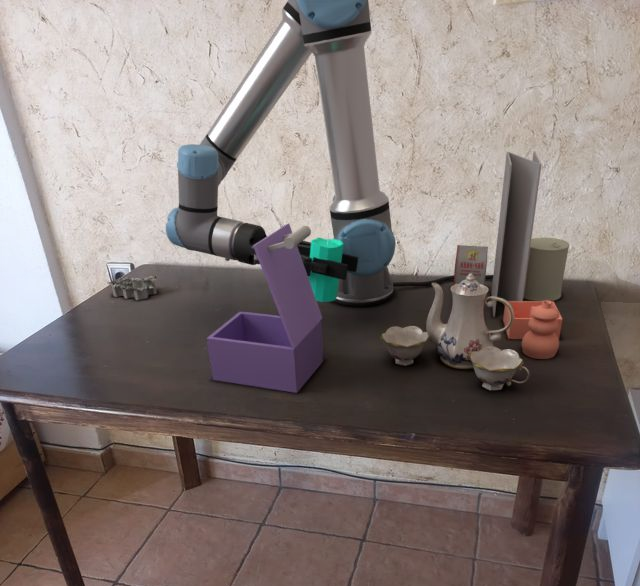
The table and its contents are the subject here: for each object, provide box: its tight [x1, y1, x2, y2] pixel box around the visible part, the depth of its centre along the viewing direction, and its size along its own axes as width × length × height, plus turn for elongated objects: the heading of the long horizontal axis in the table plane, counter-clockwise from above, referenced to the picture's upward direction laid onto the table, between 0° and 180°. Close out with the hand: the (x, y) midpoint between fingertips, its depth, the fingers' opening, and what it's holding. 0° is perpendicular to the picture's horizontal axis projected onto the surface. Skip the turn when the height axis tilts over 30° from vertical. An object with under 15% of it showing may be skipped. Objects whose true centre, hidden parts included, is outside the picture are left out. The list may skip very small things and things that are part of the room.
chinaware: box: [379, 273, 530, 391], centre depth 108 cm, size 28×17×17 cm, turn 58°
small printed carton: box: [452, 244, 489, 286], centre depth 142 cm, size 4×7×10 cm, turn 71°
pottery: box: [502, 300, 563, 360], centre depth 117 cm, size 18×10×10 cm, turn 173°
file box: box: [206, 311, 324, 394], centre depth 112 cm, size 17×13×8 cm
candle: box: [308, 233, 344, 303], centre depth 115 cm, size 6×6×12 cm
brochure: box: [490, 150, 543, 318], centre depth 127 cm, size 14×6×30 cm, turn 168°
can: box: [523, 237, 570, 302], centre depth 136 cm, size 9×9×12 cm
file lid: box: [253, 223, 323, 348], centre depth 102 cm, size 17×13×5 cm
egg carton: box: [107, 275, 158, 301], centre depth 150 cm, size 11×8×4 cm
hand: (351, 268), depth 114 cm, fingers closed on candle, 5 cm apart
